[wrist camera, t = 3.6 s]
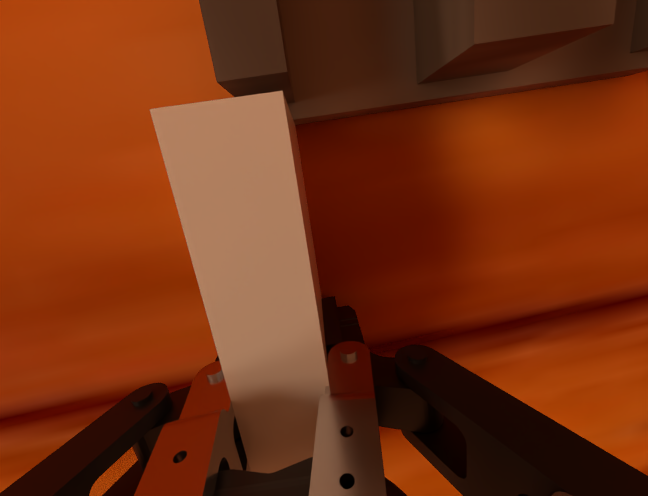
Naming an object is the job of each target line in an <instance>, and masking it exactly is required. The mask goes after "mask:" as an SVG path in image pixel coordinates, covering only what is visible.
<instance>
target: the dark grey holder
mask: <svg viewBox="0 0 648 496" xmlns="http://www.w3.org/2000/svg"><path fill="white" fill-rule="evenodd" d="M199 3H200V7H201V12H202V16H203V21H204V25H205V30H206V34H207V39H208V44H209V48H210V53H211V57H212V62H213V66H214V71H215V75H216V80H217V82H218V83H219V84H220V85H221V86H222V87H223V88H225V89H226V90H227V91H228V92H229V93H231V94H232V95H233V96H234V97H241V96H248V95H255V94H262V93H269V92H276V91H283V94H284V96H285V99H286V102H287V104H288V107H289V110H290V112H291V115H292V118H293V120H294V123H295V125H298V124H304V123H311V122H318V121H325V120H331V119H338V118H345V117H352V116H358V115H365V114H372V113H379V112H386V111H392V110H399V109H406V108H413V107H419V106H426V105H433V104H440V103H446V102H453V101H460V100H467V99H473V98H480V97H487V96H494V95H501V94H507V93H514V92H521V91H528V90H534V89H541V88H548V87H555V86H561V85H568V84H575V83H582V82H588V81H595V80H602V79H609V78H616V77H622V76H628V75H631V74H635V73H639V72H643V71H646V70H648V0H199Z"/></svg>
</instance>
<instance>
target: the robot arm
mask: <svg viewBox="0 0 648 496" xmlns="http://www.w3.org/2000/svg"><path fill="white" fill-rule="evenodd" d="M321 300H322V311H323V322H324V333H325V343H326V350H327V357H328V364H327V367H328V378H329V386H325V394H321V395H320V399H319V407H318V416H317V426H316V435H315V444H314V453H313V457H310V458H308V459H305V460H303V461H300V462H298V463H296V464H293V465H291V466H288V467H286V468H283V469H281V470H278V471H276V472H273V473H260V472H252V471H251V470H250V467H249V463H248V460H247V457H246V453H245V450H244V446H243V442H242V439H241V435H240V432H239V428H238V425H237V421H236V417H235V414H234V410H233V407H232V403H231V399H230V396H229V392H228V389H227V385H226V382H225V378H224V374H223V371H222V367H221V364H220V360H219V356H217V358H216V360H215V362H213V363H211V364H208V365H207V366H205V367H204V368H202V369H201V370H200V371H199V372H198V373H197V374H196V376H195V378H194V380H193V383H192V385H191V386H188V387H186V388H183V389H180V390H178V391H175V392H172V393H169V391H168V388H167V386H166V385H165V384H163V383H153V384H149V385H146V386H143V387H141V388H139V389H137V390H135V391H134V392H132V393H131V394H129V395H128V396H127V397H125V398H124V399H123V400H121V401H120V402H119V403H117V404H116V405H115V406H114V407H112V408H111V409H110V410H108V411H107V412H106V413H104V414H103V415H102V416H100V417H99V418H98V419H97V420H95V421H94V422H93V423H91V424H90V425H89V426H87V427H86V428H85V429H83V430H82V431H81V432H80V433H78V434H77V435H76V436H74V437H73V438H72V439H70V440H69V441H68V442H66V443H65V444H64V445H63V446H61V447H60V448H59V449H57V450H56V451H55V452H53V453H52V454H51V455H49V456H48V457H47V458H46V459H44V460H43V461H42V462H40V463H39V464H38V465H36V466H35V467H34V468H32V469H31V470H30V471H29V472H27V473H26V474H25V475H23V476H22V477H21V478H19V479H18V480H17V481H15V482H14V483H13V484H12V485H10V486H9V487H8V488H6V489H5V490H4V491H2V492H1V493H0V496H89V493H90V490H91V488H92V486H93V484H94V483H95V481H96V480H97V479H98V478H99V477H100V476H101V475H102V474H103V473H104V472H105V471H106V470H107V469H108V468H109V467H110V466H111V465H112V464H114V463H115V462H116V461H117V460H118V459H119V458H120V457H121V456H122V455H123V454H124V453H125V452H127V451H128V450H129V449H130V448H131V447H133V449H134V452H135V454H136V456H137V459H138V461H137V462H136V463H135V464H134V465H133V466H132V467H131V468H130V469H129V470H128V471H127V472H126V473H125V474H124V475H123V476H122V477H121V478H120V479H119V480H118V481H117V482H115V483H114V484H113V485H112V486H111V487H110V488H109V489H108V490H107V491H106V492H105V493H104V494H103V495H102V496H407V495H406V494H405V493H404V492H403V491H402V490H401V489H400V488H398V487H397V486H396V485H395V484H394V483H392V482H391V481H389V480H388V479H387V478H385V477H384V469H383V460H382V452H381V443H380V435H379V426H381V427H388V428H394V429H401V431H402V433H403V435H404V436H405V438H406V439H407V440H408V441H409V442H410V443H411V444H412V445H413V446H414V447H415V448H416V449H417V450H418V451H419V452H420V453H421V454H422V455H423V456H424V457H425V458H426V459H427V460H428V461H429V462H430V463H431V464H432V465H433V466H434V467H435V468H436V469H437V470H438V471H439V472H440V473H441V474H442V475H443V476H444V477H445V478H446V479H447V480H448V481H449V482H450V483H451V484H452V485H453V486H454V487H455V488H456V489H457V490H458V491H459V492H460V493H461V494H462V495H463V496H648V476H647V475H645V474H643V473H642V472H640V471H638V470H637V469H635V468H633V467H632V466H630V465H628V464H626V463H625V462H623V461H621V460H620V459H618V458H616V457H615V456H613V455H611V454H610V453H608V452H606V451H604V450H603V449H601V448H599V447H598V446H596V445H594V444H593V443H591V442H589V441H588V440H586V439H584V438H582V437H581V436H579V435H577V434H576V433H574V432H572V431H571V430H569V429H567V428H566V427H564V426H562V425H560V424H559V423H557V422H555V421H554V420H552V419H550V418H549V417H547V416H545V415H544V414H542V413H540V412H538V411H537V410H535V409H533V408H532V407H530V406H528V405H527V404H525V403H523V402H522V401H520V400H518V399H516V398H515V397H513V396H511V395H510V394H508V393H506V392H505V391H503V390H501V389H500V388H498V387H496V386H494V385H493V384H491V383H489V382H488V381H486V380H484V379H483V378H481V377H479V376H478V375H476V374H474V373H472V372H471V371H469V370H467V369H466V368H464V367H462V366H461V365H459V364H457V363H456V362H454V361H452V360H450V359H449V358H447V357H445V356H444V355H442V354H440V353H439V352H437V351H435V350H433V349H432V348H429V347H427V346H423V345H409V346H405V347H403V348H401V349H399V350H398V351H397V353H396V354H395V358H391V357H382V356H378V355H375V354H373V353H371V352H370V351H369V349H368V347H367V346H366V345H365V343H364V340H363V336H362V333H361V330H360V326H359V323H358V320H357V316H356V313H355V310H353V309H352V308H351V307H350V306H342V307H337V306H336V301H335V296H334V297H327V298H321Z"/></svg>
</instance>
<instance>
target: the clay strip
mask: <svg viewBox="0 0 648 496" xmlns="http://www.w3.org/2000/svg"><path fill="white" fill-rule="evenodd" d="M150 113H151V116H152V120H153V123H154V127H155V131H156V134H157V138H158V141H159V145H160V149H161V152H162V156H163V159H164V163H165V166H166V170H167V174H168V177H169V181H170V184H171V188H172V192H173V195H174V199H175V202H176V206H177V209H178V213H179V217H180V220H181V224H182V227H183V231H184V235H185V238H186V242H187V245H188V249H189V252H190V256H191V260H192V263H193V267H194V270H195V274H196V278H197V281H198V285H199V288H200V292H201V295H202V299H203V303H204V306H205V310H206V313H207V317H208V321H209V324H210V328H211V331H212V335H213V339H214V342H215V346H216V349H217V353H218V356H219V360H220V364H221V367H222V371H223V374H224V378H225V382H226V385H227V389H228V392H229V396H230V399H231V403H232V407H233V410H234V414H235V417H236V421H237V425H238V428H239V432H240V435H241V439H242V442H243V446H244V450H245V453H246V457H247V460H248V463H249V467H250V470H251V471H252V472H260V473H273V472H276V471H278V470H281V469H283V468H286V467H288V466H291V465H293V464H296V463H298V462H300V461H303V460H305V459H308V458H310V457H313V453H314V444H315V435H316V426H317V416H318V407H319V399H320V395H321V394H325V386H329V378H328V367H327V364H328V357H327V350H326V343H325V333H324V322H323V311H322V300H321V298H322V297H321V290H320V284H319V277H318V270H317V264H316V257H315V251H314V244H313V237H312V231H311V224H310V218H309V211H308V205H307V198H306V191H305V185H304V178H303V172H302V165H301V159H300V152H299V145H298V139H297V132H296V126H295V123H294V120H293V118H292V115H291V112H290V110H289V107H288V104H287V102H286V99H285V96H284V94H283V91H276V92H269V93H262V94H255V95H248V96H241V97H233V98H226V99H219V100H212V101H205V102H198V103H190V104H183V105H176V106H169V107H162V108H155V109H150Z"/></svg>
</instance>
